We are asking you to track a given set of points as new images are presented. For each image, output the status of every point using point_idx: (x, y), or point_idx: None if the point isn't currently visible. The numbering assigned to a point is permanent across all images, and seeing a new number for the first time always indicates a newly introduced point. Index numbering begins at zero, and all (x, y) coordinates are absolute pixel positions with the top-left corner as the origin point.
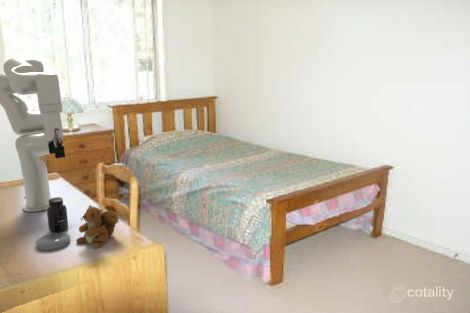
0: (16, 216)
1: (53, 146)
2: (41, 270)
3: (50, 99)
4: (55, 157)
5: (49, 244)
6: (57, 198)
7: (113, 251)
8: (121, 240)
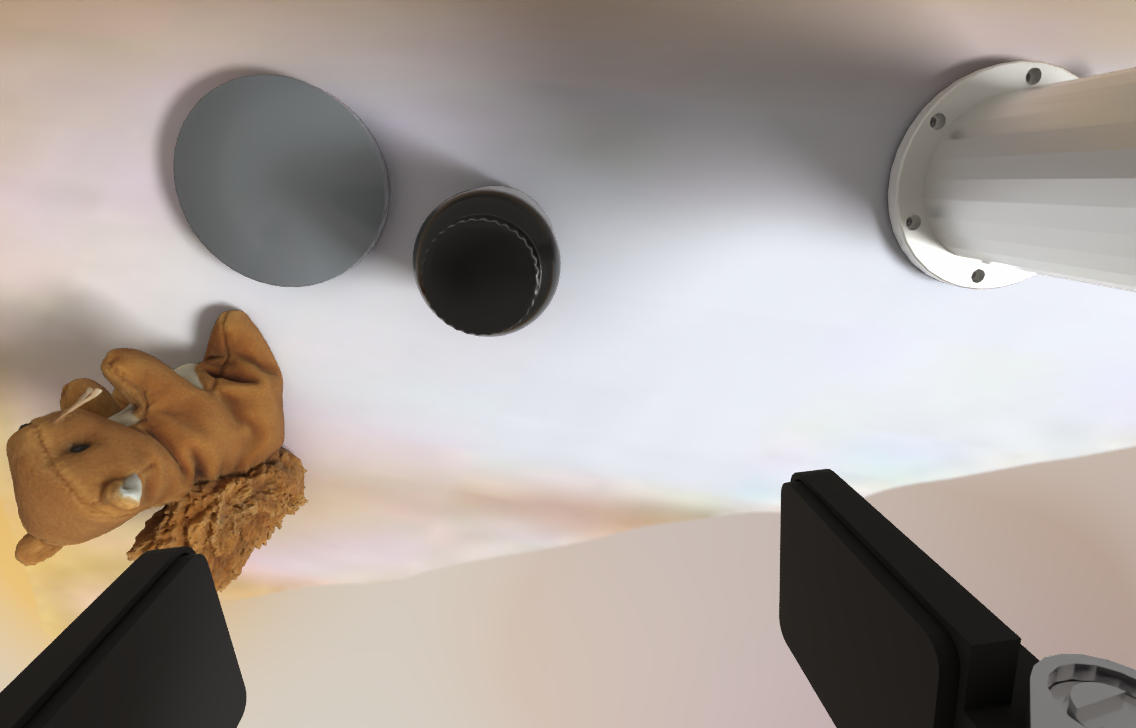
0: (905, 3)
1: (861, 675)
2: None
3: None
4: (173, 548)
5: (212, 155)
6: (497, 297)
7: None
8: None
